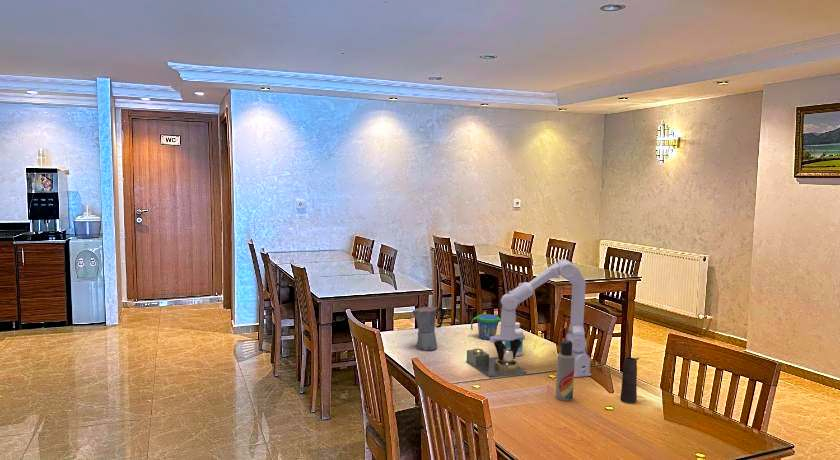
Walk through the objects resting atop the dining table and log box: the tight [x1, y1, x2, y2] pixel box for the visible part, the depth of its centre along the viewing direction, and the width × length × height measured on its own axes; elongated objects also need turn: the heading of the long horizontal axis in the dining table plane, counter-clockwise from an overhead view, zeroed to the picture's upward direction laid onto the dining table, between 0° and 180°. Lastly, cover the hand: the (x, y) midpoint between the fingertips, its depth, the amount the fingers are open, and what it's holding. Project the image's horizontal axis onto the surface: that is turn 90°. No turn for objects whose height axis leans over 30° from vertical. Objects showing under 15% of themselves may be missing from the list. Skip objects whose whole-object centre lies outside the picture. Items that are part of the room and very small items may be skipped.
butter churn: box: [620, 319, 640, 404], centre depth 201 cm, size 9×10×28 cm
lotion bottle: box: [555, 339, 575, 402], centre depth 202 cm, size 6×6×20 cm
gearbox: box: [466, 348, 528, 379], centre depth 233 cm, size 20×16×6 cm
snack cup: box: [470, 313, 501, 340], centre depth 276 cm, size 16×10×10 cm
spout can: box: [500, 346, 514, 365], centre depth 231 cm, size 5×5×7 cm
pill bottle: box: [504, 321, 524, 357], centre depth 252 cm, size 8×7×14 cm
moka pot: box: [411, 302, 446, 351], centre depth 257 cm, size 10×15×20 cm, turn 115°
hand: (506, 359), depth 232 cm, fingers closed on spout can, 5 cm apart
